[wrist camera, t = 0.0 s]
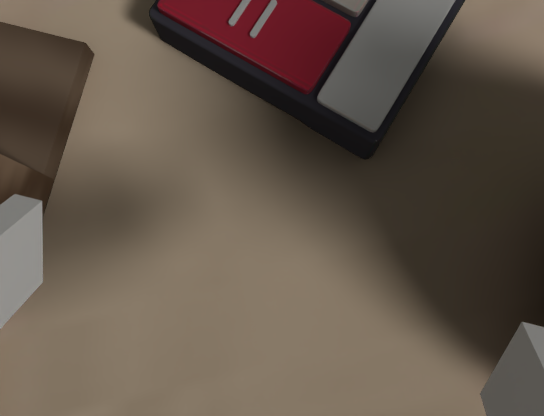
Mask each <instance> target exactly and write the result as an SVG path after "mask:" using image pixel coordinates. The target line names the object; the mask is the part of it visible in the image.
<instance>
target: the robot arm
mask: <svg viewBox="0 0 544 416" xmlns="http://www.w3.org/2000/svg"><path fill="white" fill-rule="evenodd" d="M42 283H43V230H42V201H41V200H37V199H33V198H29V197H25V196H21V195H17V194H14V195H13V196H11V197H10V198H9V199H7V200H6V201H5V202H3V203H2V204H0V329H1V328H2V326H3V325H4V324H5V323H6V322H7V321H8V320H9V319H10V318H11V317H12V316H13V314H14V313H15V312H16V311H17V310H18V309H19V308H20V307H21V306H22V305H23V303H24V302H25V301H26V300H27V299H28V298H29V297H30V296H31V295H32V294H33V292H34V291H35V290H36V289H37V288H38V287H39V286H40V285H41V284H42ZM480 395H481V398H482V402H483V405H484V408H485V412H486V415H487V416H544V327H541V326H537V325H533V324H529V323H525V322H521V324H520V326H519V327H518V329H517V331H516V332H515V334H514V336H513V338H512V339H511V341H510V343H509V345H508V346H507V348H506V350H505V351H504V353H503V355H502V357H501V358H500V360H499V362H498V364H497V365H496V367H495V369H494V370H493V372H492V374H491V376H490V377H489V379H488V381H487V382H486V384H485V386H484V388H483V389H482V391H481V393H480Z"/></svg>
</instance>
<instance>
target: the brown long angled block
mask: <svg viewBox="0 0 544 416" xmlns="http://www.w3.org/2000/svg"><path fill="white" fill-rule="evenodd" d="M93 57H94V53H93V52H92V51H91V49H90V48H89V47H88V45H87V44H86V43H84V42H80V41H76V40H72V39H68V38H63V37H59V36H55V35H51V34H47V33H43V32H39V31H35V30H31V29H27V28H23V27H19V26H15V25H10V24H6V23H2V22H0V204H2V203H3V202H5V201H6V200H7V199H9V198H10V197H11V196H13V195H14V194H17V195H21V196H25V197H29V198H33V199H37V200H41V201H42V217H43V214H44V211H45V208H46V205H47V202H48V199H49V195H50V192H51V189H52V186H53V183H54V180H55V177H56V173H57V170H58V167H59V164H60V161H61V158H62V155H63V151H64V148H65V145H66V142H67V139H68V136H69V133H70V129H71V126H72V123H73V120H74V117H75V114H76V111H77V107H78V104H79V101H80V98H81V95H82V92H83V89H84V85H85V82H86V79H87V76H88V73H89V70H90V67H91V63H92V60H93Z"/></svg>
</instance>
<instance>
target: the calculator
mask: <svg viewBox="0 0 544 416" xmlns="http://www.w3.org/2000/svg"><path fill="white" fill-rule="evenodd" d="M464 1H465V0H156V1H155V3H154V4H153V6H152V7H151V9H150V11H149V16H150V18H151V20H152V22H153V24H154V26H155V28H156V30H157V32H158V34H159V36H160V38H161V39H162V40H163V41H164V42H166V43H167V44H169V45H171V46H172V47H174V48H176V49H177V50H179V51H181V52H183V53H184V54H186V55H188V56H189V57H191V58H193V59H194V60H196V61H198V62H199V63H201V64H203V65H205V66H206V67H208V68H210V69H211V70H213V71H215V72H216V73H218V74H220V75H222V76H223V77H225V78H227V79H229V80H230V81H232V82H234V83H236V84H237V85H239V86H241V87H243V88H244V89H246V90H248V91H250V92H251V93H253V94H255V95H257V96H258V97H260V98H262V99H264V100H265V101H267V102H269V103H271V104H272V105H274V106H276V107H278V108H279V109H281V110H283V111H285V112H286V113H288V114H290V115H292V116H293V117H295V118H297V119H299V120H300V121H302V122H303V123H304V124H306V125H307V126H308V127H310V128H311V129H313V130H314V131H316V132H318V133H319V134H321V135H323V136H325V137H326V138H328V139H330V140H331V141H333V142H335V143H336V144H338V145H340V146H341V147H343V148H345V149H347V150H348V151H350V152H352V153H353V154H355V155H357V156H358V157H360V158H362V159H369V158H370V157H371V156H372V155H373V154H374V152H375V150H376V149H377V147H378V146H379V144H380V142H381V141H382V139H383V137H384V136H385V134H386V132H387V131H388V129H389V127H390V126H391V124H392V122H393V121H394V119H395V117H396V116H397V114H398V112H399V111H400V109H401V107H402V105H403V104H404V102H405V100H406V99H407V97H408V95H409V94H410V92H411V90H412V89H413V87H414V85H415V84H416V82H417V80H418V79H419V77H420V75H421V74H422V72H423V70H424V69H425V67H426V65H427V64H428V62H429V60H430V59H431V57H432V55H433V53H434V52H435V50H436V48H437V47H438V45H439V43H440V42H441V40H442V38H443V37H444V35H445V33H446V32H447V30H448V28H449V27H450V25H451V23H452V22H453V20H454V18H455V17H456V15H457V13H458V12H459V10H460V8H461V7H462V5H463V3H464Z"/></svg>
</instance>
